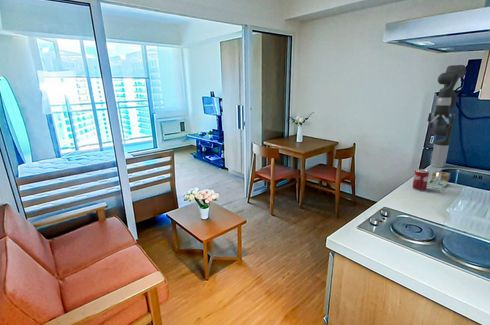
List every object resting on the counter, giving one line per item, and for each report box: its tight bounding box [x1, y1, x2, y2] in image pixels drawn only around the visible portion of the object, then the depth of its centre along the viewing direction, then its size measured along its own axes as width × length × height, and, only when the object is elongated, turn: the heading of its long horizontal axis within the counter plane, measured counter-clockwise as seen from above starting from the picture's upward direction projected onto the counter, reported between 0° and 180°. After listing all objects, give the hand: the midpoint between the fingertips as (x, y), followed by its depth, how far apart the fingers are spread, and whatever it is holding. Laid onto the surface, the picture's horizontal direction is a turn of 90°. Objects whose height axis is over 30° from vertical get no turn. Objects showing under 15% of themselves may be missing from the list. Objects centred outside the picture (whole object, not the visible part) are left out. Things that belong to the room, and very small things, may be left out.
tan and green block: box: [430, 170, 451, 183], centre depth 171 cm, size 13×9×5 cm
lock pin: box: [433, 170, 443, 185], centre depth 163 cm, size 3×3×9 cm
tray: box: [427, 178, 449, 191], centre depth 164 cm, size 10×9×2 cm
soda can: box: [411, 168, 430, 192], centre depth 159 cm, size 7×7×12 cm
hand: (438, 128), depth 176 cm, fingers open, 8 cm apart
